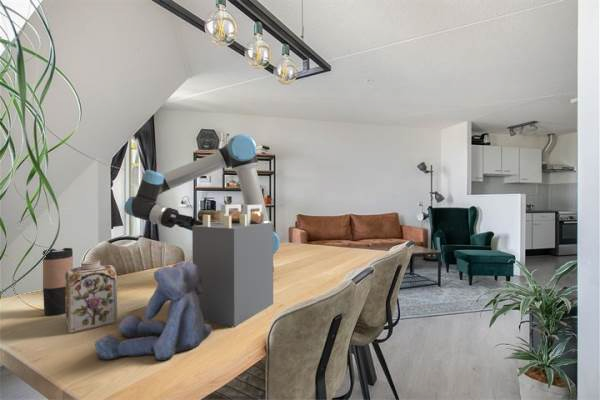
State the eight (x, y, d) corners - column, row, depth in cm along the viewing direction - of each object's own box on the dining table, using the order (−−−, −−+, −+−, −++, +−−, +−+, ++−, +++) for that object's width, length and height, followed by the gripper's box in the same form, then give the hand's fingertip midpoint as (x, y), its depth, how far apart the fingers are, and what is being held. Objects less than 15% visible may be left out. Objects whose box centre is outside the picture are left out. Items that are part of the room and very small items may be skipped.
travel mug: (56, 317, 94) (56, 252, 94) (36, 315, 96) (35, 251, 95) (79, 308, 102) (78, 248, 101) (60, 306, 103) (59, 247, 103)
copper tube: (197, 221, 112) (197, 210, 112) (205, 220, 115) (205, 209, 115) (256, 224, 100) (256, 211, 100) (263, 223, 104) (263, 211, 104)
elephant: (136, 323, 90) (135, 253, 89) (220, 325, 89) (220, 254, 88) (82, 362, 69) (82, 270, 69) (191, 364, 68) (191, 272, 68)
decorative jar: (68, 335, 82) (67, 268, 82) (64, 321, 91) (64, 261, 91) (119, 322, 90) (118, 261, 90) (111, 311, 99) (110, 256, 99)
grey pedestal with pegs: (236, 297, 113) (235, 204, 112) (273, 303, 106) (273, 204, 105) (192, 317, 94) (192, 205, 94) (234, 327, 87) (234, 206, 87)
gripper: (172, 232, 132) (218, 246, 131) (147, 216, 108) (204, 234, 107) (179, 216, 134) (225, 230, 133) (156, 197, 111) (212, 214, 110)
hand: (215, 232), depth 120 cm, fingers open, 13 cm apart
